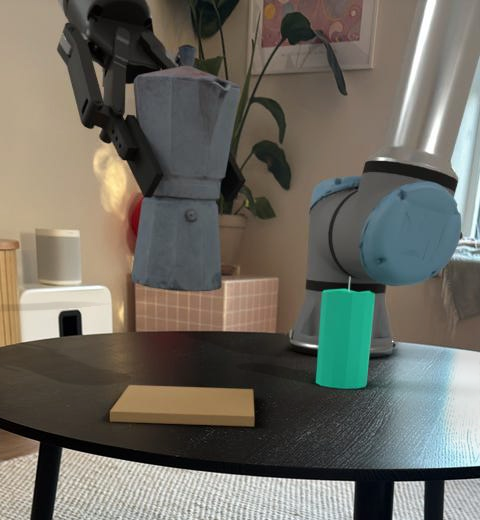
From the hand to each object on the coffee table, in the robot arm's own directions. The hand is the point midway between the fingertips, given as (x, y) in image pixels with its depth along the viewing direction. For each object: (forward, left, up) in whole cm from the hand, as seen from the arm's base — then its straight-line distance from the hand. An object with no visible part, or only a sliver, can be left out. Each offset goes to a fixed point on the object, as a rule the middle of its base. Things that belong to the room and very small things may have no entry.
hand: (196, 188), depth 67 cm
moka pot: (+2, -3, -9) cm, 10 cm away
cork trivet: (+1, +1, -20) cm, 20 cm away
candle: (-16, -15, -20) cm, 30 cm away
